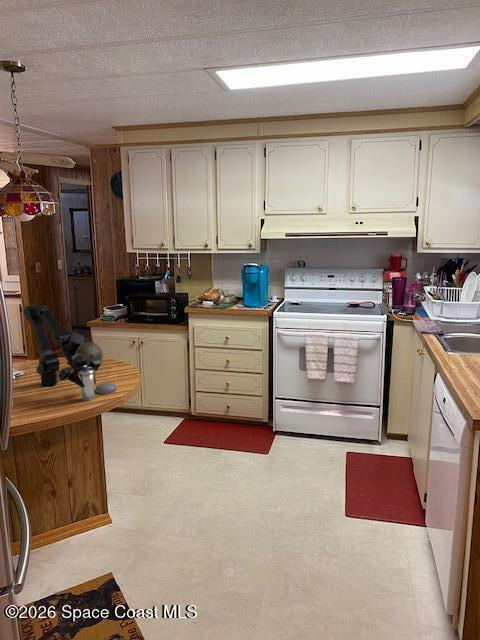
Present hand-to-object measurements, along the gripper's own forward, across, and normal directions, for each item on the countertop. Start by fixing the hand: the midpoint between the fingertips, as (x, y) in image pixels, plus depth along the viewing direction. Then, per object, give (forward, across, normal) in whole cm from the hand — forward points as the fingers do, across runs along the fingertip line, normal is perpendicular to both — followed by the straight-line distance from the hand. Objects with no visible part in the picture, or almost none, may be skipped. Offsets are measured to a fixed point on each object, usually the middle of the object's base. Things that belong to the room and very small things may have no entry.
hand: (89, 385), depth 203 cm
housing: (+4, 0, +6) cm, 7 cm away
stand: (+2, +11, +7) cm, 13 cm away
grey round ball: (-21, +24, +31) cm, 44 cm away
